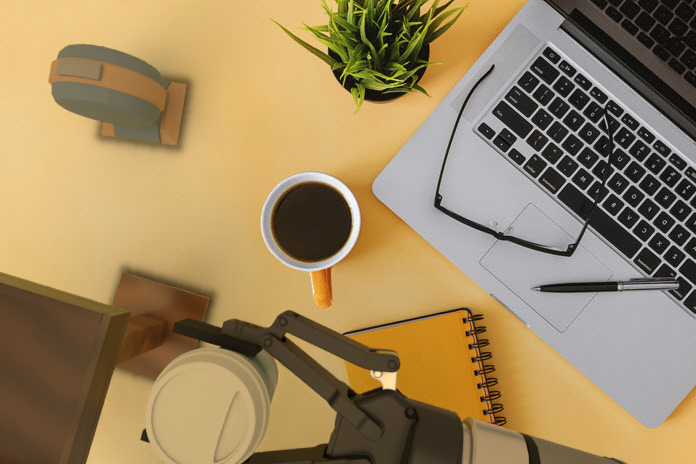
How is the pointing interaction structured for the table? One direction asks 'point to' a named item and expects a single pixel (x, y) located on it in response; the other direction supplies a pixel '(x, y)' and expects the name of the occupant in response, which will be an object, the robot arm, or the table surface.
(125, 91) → the alarm clock
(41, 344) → the serving tray
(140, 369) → the tray stand
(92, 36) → the table surface
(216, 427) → the coffee cup
